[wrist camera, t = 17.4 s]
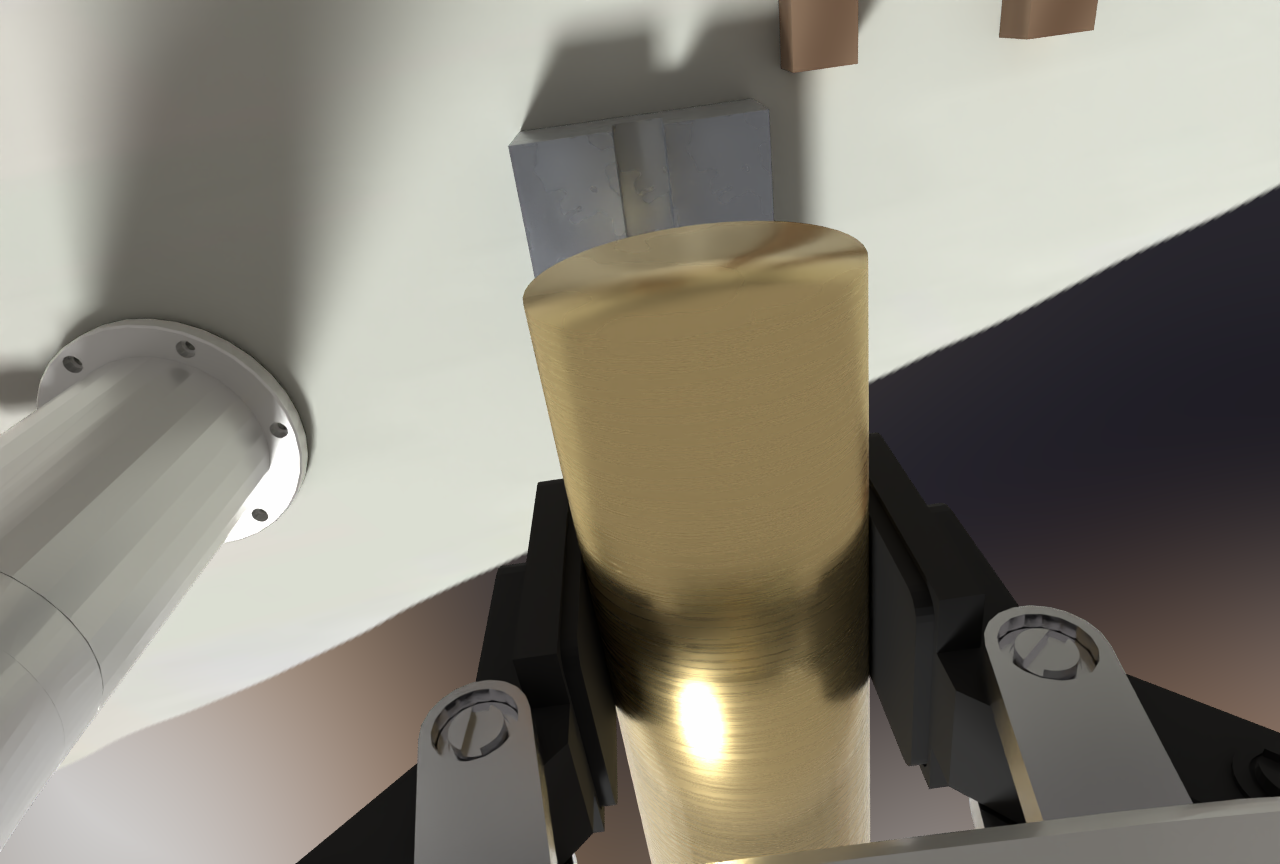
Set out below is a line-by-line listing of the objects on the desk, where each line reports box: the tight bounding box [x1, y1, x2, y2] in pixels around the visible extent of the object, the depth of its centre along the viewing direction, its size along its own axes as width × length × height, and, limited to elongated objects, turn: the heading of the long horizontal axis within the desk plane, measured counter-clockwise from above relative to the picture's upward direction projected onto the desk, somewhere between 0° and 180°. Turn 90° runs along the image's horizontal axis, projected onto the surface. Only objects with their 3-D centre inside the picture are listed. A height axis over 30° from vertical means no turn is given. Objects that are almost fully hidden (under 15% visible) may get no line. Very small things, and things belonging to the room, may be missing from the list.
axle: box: [523, 221, 870, 864], centre depth 12 cm, size 12×4×4 cm, turn 8°
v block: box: [508, 99, 774, 278], centre depth 33 cm, size 10×10×4 cm
